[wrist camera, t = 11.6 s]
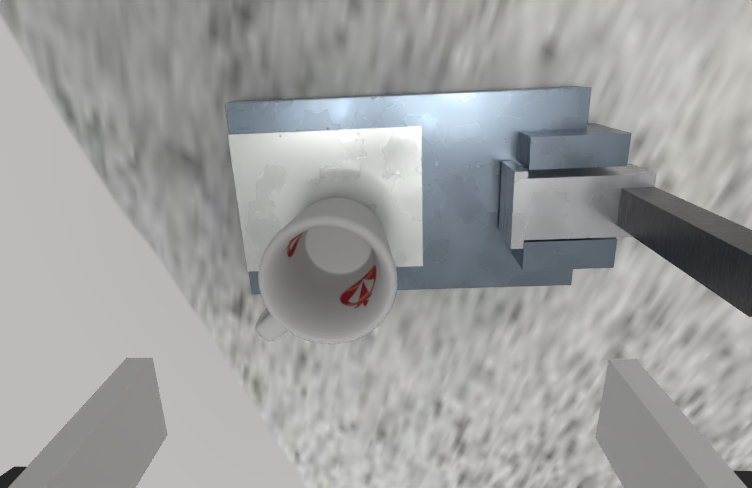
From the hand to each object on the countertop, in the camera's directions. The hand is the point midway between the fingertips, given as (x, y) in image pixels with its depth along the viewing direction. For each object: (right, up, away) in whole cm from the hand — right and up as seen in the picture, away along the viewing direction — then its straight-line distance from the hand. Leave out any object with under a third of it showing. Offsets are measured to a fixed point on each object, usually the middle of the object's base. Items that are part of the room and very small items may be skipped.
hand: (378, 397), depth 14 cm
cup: (-4, +4, +21) cm, 22 cm away
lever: (+13, +8, +19) cm, 25 cm away
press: (+3, +8, +22) cm, 24 cm away
